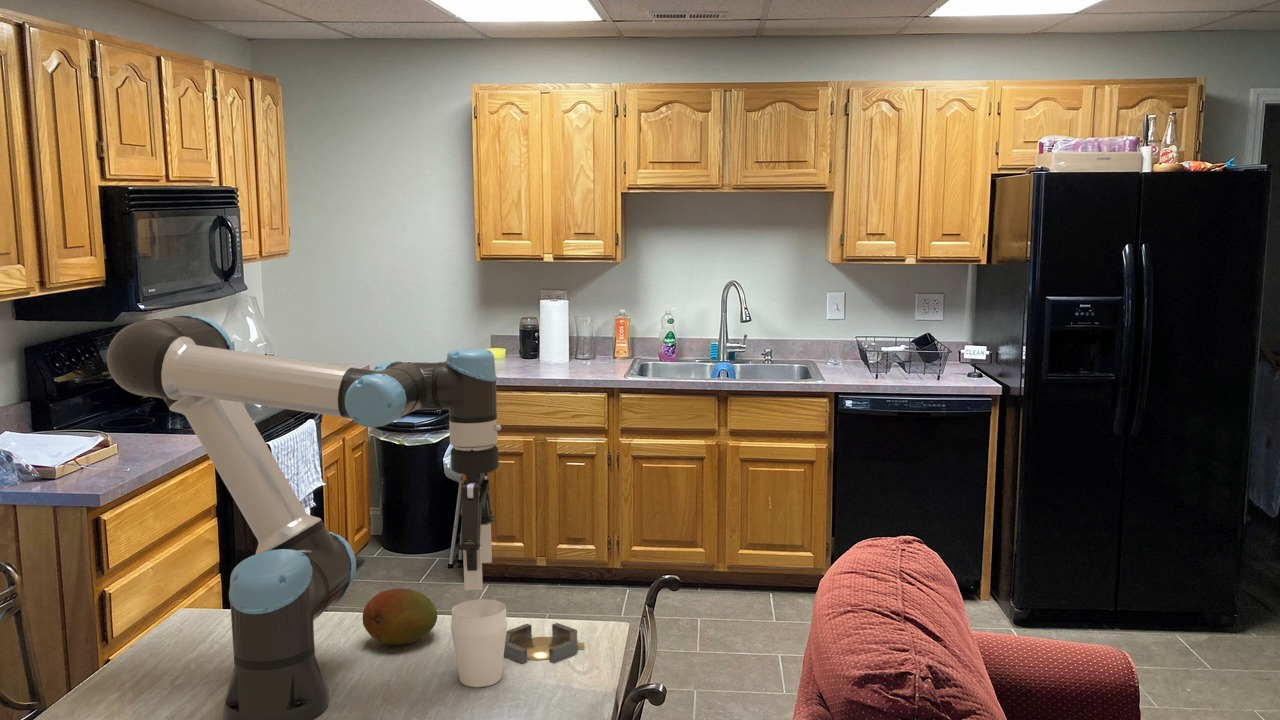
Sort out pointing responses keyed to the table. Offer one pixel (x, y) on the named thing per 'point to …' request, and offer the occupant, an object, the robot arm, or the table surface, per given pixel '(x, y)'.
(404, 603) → the fruit
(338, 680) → the table surface
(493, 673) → the cup
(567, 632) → the socket
